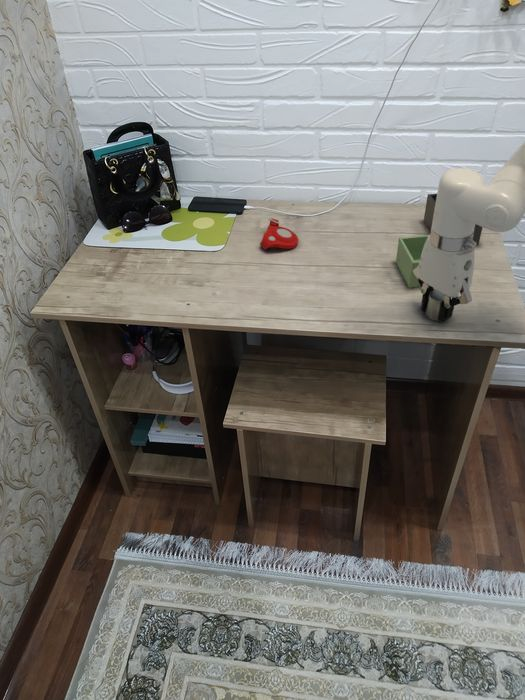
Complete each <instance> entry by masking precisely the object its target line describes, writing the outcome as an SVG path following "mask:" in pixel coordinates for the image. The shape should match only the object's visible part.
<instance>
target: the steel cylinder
mask: <svg viewBox="0 0 525 700" xmlns="http://www.w3.org/2000/svg"><path fill="white" fill-rule="evenodd" d="M442 305H444V293H442V292H440V291H438V290H437V289H435V290H433V291H431V292H430V293H429V298H428V303H427V309H426V310H425V316H426V317H427V318H428V319H429V320H431V321H436V322H440V321H439V316H440V311H441V307H442Z"/></svg>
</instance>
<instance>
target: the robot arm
mask: <svg viewBox="0 0 525 700" xmlns="http://www.w3.org/2000/svg"><path fill="white" fill-rule="evenodd" d="M524 215H525V141H523V142H522V144H521V145H520V146H519V147H518V148H517V150H516V151H515V152H514V153H513V154H512V155H511V156H510V157H509V159H508V160H507V161H506V162H505V163H504V164H503V165H502V166H501V168H500V169H499V170H498V171H497V172H496V174H495V175H494V176H493V177H492V179H491V181H490V182H489V184H485V179H484V177H483V175H482V174H481V173H480V172H479V171H476V170H474V169H471V168H464V167H456V168H451V169H449V170H447V171H445V172H444V173H443V174H442V175H441V177H440V179H439V182H438V186H437V198H436V204H435V210H434V216H433V222H432V227H431V233H430V232H429V234H428V235H429V236H428V238H427V240H426V242H425V245H424V247H423V250H422V253H421V257H420V261H419V266H418V267H416V268H415V269H414V270H413V273H414V275H415V276H416V278H417V279H418V282H419V284H420V286H421V287H420V293H421V294H422V297H421V307H420V310H421V311H422V312H424V311H425V312H426V309H427V303H428V298H429V293H430V292H431V291H433V290H438V291H440V292H442V293H444V305H442V307H441V311H440V316H439V321H438V322H440V323H444V322H445V321H447V320H450V319H451V318H452V316H453V314H454V310H455V307H456V306H458V305H468V304H469V303H471V302H472V301H473V297H472V295H471V292H470V289H471V286H472V282H473V277H474V270H475V261H476V260H475V259H476V258H475V257H476V256H475V249H476V247H477V246H478V245H477V243H476V242H474V240H473V236H474V234H473V233H474V228H475V224H477V225H479V226H481V227H483V228H482V229H486V230H489V231H491V232H494V233H506V232H508V231H511V230H513V229H514V228H516V227H517V226H518V225H519V224H520V222H521V221H522V219H523V218H524Z"/></svg>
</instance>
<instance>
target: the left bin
mask: <svg viewBox="0 0 525 700" xmlns="http://www.w3.org/2000/svg"><path fill="white" fill-rule="evenodd" d="M429 235H430V234H424V235H413V236H405V237H398V243H397V248H396V249H397V252H396V257H395V263H396V265H397V267H398V269H399V271H400V273H401V275H402V277H403V279H404V282H405V283H406V285H407V288H409V289H411V288H421V286H420V284H419V282H418V279H417V278H416V276H415V275H414V273H413V270H414V269H415V268H416V267H418V266H419V261H420V257H421V253H422V250H423V247H424V245H425V242H426V240H427V238H428V236H429Z"/></svg>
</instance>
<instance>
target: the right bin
mask: <svg viewBox="0 0 525 700" xmlns="http://www.w3.org/2000/svg"><path fill="white" fill-rule="evenodd" d="M426 197H427V198H426V201H425V202H426V203H425V209H424V215H423V224H424V225H425V226H426V228H427V230H428V231H429V234H430V233H431V227H432V222H433V216H434V210H435V204H436V198H437V193H428V194H427V196H426ZM483 229H484V228H483V227H481V226H479V225H477V224H475V228H474V233H473V234H474V236H473V240H474V242H476V243H477V245H476V246H480V245H479V244H480V240H481V236H482V233H483Z"/></svg>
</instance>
